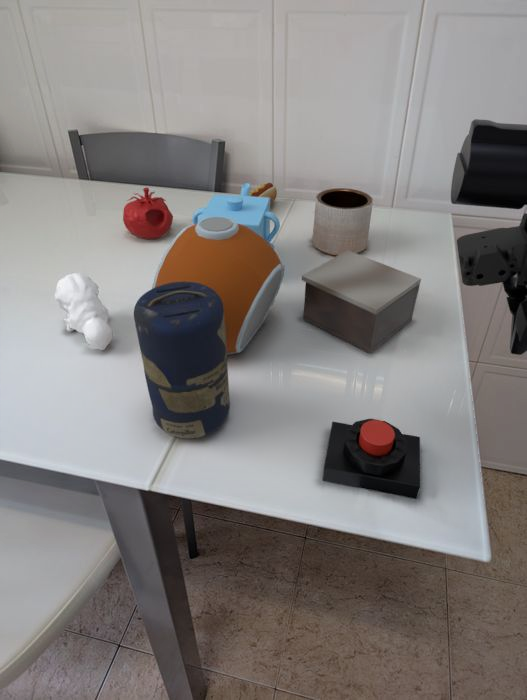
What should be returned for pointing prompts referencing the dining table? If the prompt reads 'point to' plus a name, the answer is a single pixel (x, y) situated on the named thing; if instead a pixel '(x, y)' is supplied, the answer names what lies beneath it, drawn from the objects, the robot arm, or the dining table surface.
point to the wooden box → (357, 317)
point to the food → (265, 192)
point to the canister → (184, 357)
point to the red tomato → (147, 216)
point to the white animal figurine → (84, 309)
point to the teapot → (242, 212)
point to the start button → (376, 437)
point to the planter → (342, 220)
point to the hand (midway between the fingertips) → (515, 352)
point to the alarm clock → (227, 272)
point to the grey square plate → (361, 281)
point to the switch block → (373, 462)
